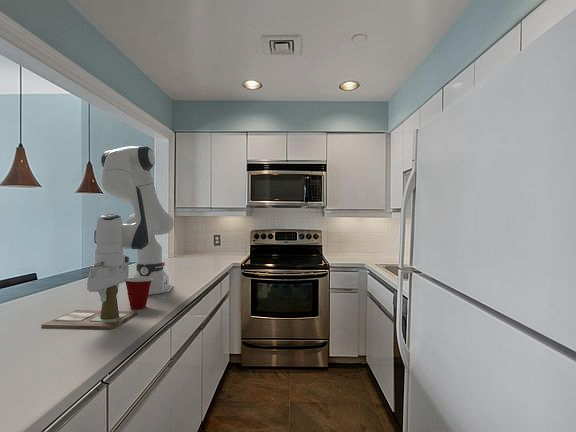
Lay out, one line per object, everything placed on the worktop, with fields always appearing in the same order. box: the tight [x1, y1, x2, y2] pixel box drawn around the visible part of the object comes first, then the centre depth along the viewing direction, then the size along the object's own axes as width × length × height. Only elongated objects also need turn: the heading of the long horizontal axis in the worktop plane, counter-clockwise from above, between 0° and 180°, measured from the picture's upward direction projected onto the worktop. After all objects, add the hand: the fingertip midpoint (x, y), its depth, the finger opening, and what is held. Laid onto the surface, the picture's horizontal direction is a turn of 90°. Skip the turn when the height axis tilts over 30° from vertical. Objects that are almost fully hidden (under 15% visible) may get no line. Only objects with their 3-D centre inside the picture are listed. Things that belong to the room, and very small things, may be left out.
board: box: [40, 309, 139, 330], centre depth 124 cm, size 18×24×1 cm
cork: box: [100, 286, 120, 320], centre depth 124 cm, size 6×6×11 cm
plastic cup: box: [125, 277, 153, 310], centre depth 142 cm, size 11×11×12 cm
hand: (108, 299), depth 124 cm, fingers closed on cork, 4 cm apart
